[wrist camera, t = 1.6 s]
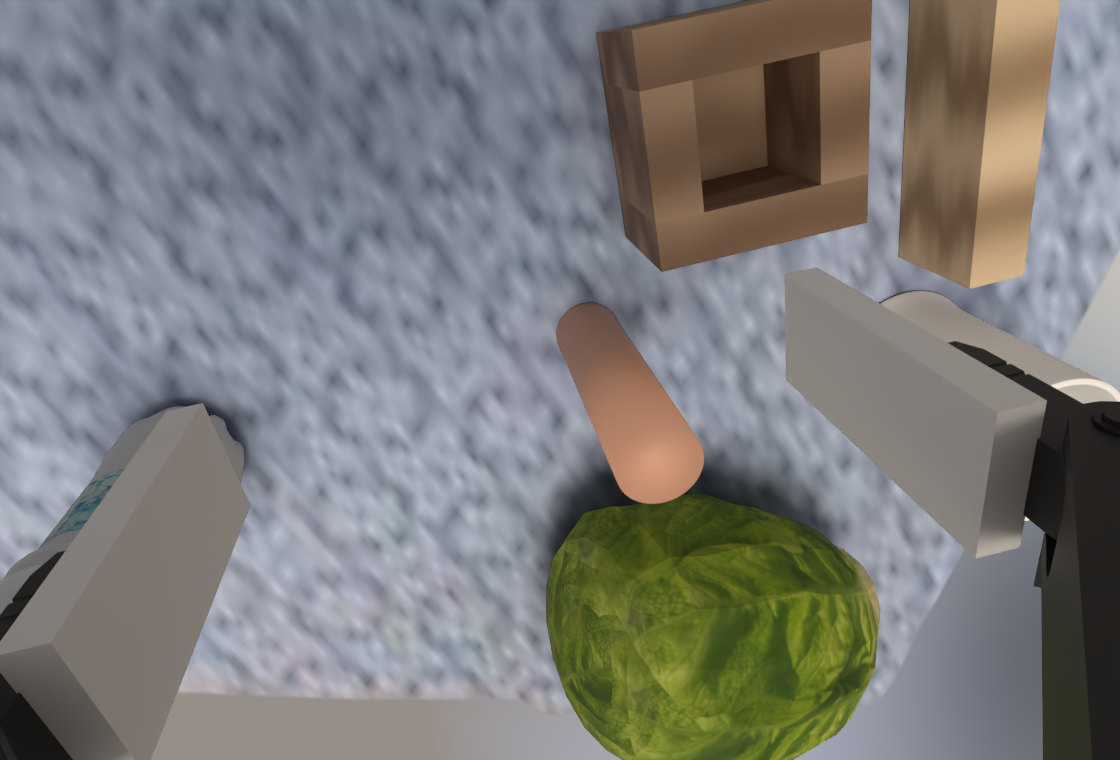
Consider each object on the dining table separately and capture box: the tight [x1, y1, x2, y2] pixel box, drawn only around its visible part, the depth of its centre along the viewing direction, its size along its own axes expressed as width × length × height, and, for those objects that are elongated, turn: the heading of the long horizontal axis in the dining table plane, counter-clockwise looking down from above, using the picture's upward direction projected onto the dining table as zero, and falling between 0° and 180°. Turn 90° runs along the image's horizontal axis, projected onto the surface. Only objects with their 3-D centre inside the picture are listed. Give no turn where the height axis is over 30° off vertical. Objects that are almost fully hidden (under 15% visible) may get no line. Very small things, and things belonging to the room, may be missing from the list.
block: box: [596, 0, 872, 272], centre depth 32 cm, size 10×10×6 cm
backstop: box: [899, 0, 1060, 289], centre depth 33 cm, size 20×3×6 cm, turn 11°
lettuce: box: [546, 493, 880, 760], centre depth 42 cm, size 16×21×15 cm
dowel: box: [556, 303, 704, 504], centre depth 33 cm, size 4×4×14 cm
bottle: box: [0, 406, 245, 614], centre depth 29 cm, size 7×7×20 cm
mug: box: [880, 291, 1120, 521], centre depth 39 cm, size 12×8×12 cm
